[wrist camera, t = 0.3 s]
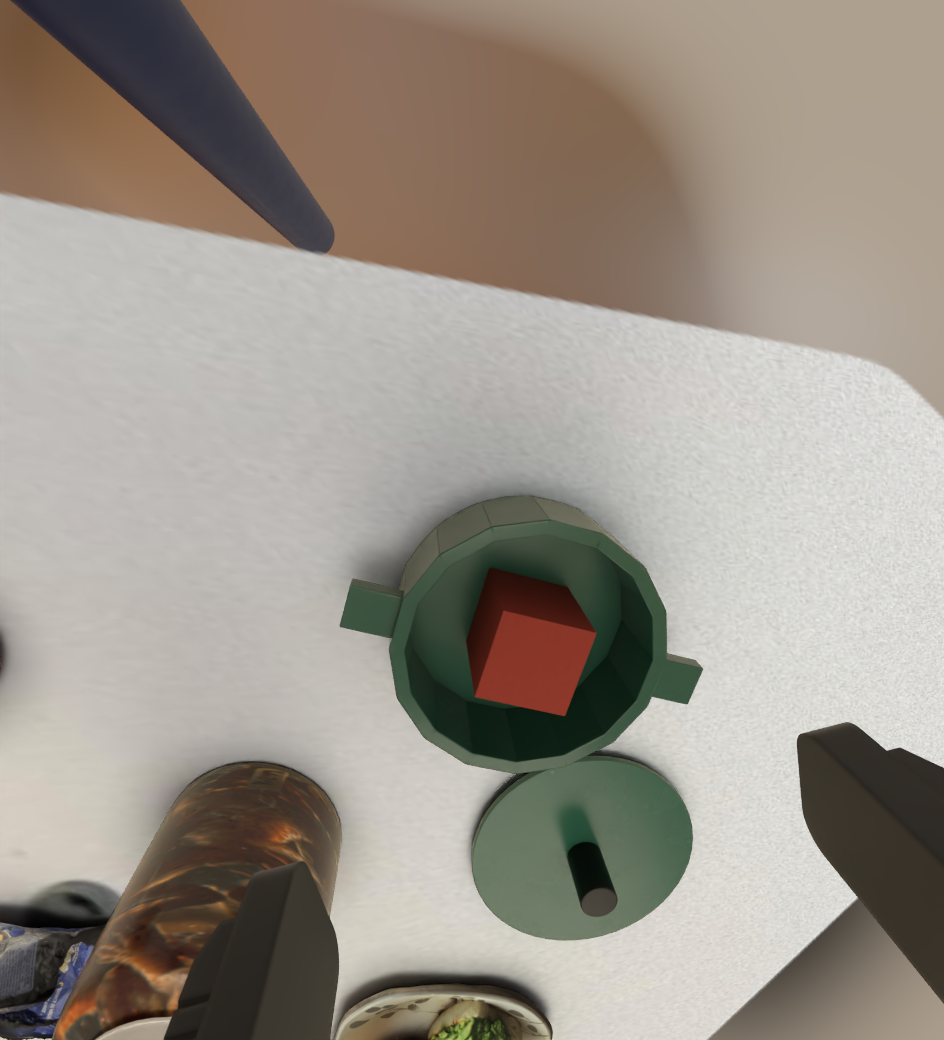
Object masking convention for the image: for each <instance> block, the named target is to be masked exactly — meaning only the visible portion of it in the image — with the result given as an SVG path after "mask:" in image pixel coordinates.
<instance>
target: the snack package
mask: <svg viewBox="0 0 944 1040" xmlns="http://www.w3.org/2000/svg"><path fill="white" fill-rule="evenodd" d="M105 926H106V925H100V926H98V927H88V928H77V929H73V928H71V929H64V928H49V927H48V928H45V927H43V928H29V927H22V926H18V925H12V924H7V923H0V1037H2V1038H6V1039H7V1040H23V1039H26V1040H27V1039H33V1038H42V1039H47V1038H52V1036H53V1033H54V1029H55V1027H56V1024H57V1022H58V1019H59V1017H60V1014H61V1012H62V1009H63V1007H64V1005H65V1003H66V1001H67V999H68V997H69V994H70V992H71V990H72V988H73V986H74V984H75V982H76V980H77V978H78V976H79V974H80V972H81V971H82V969H83V967H84V965H85V963H86V961H87V959H88V957H89V955H90V954H91V952H92V950H93V948H94V946H95V944H96V942H97V940H98V939H99V937H100V935H101V933H102V931H103V929H104V927H105Z"/></svg>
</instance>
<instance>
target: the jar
mask: <svg viewBox="0 0 944 1040" xmlns="http://www.w3.org/2000/svg"><path fill="white" fill-rule="evenodd" d="M340 847H341V827H340V822H339V818H338V815H337V812H336V810H335V808H334V806H333V804H332V803H331V801H330V799H329V798H328V797H327V795H326V794H325V793H324V792H323V791H322V790H321V789H320V788H319V787H318V786H317V785H316V784H315V783H313V782H312V781H311V780H309V779H308V778H306V777H305V776H303V775H301V774H299V773H297V772H295V771H293V770H290V769H287V768H285V767H281V766H278V765H273V764H267V763H254V762H253V763H238V764H232V765H228V766H224V767H221V768H218V769H215V770H213V771H210V772H208V773H206V774H204V775H203V776H201V777H199V778H198V779H196V780H195V781H194V782H192V783H191V784H190V785H189V786H188V787H187V788H186V789H185V790H184V791H183V792H182V793H181V794H180V795H179V797H178V798H177V799H176V801H175V802H174V804H173V805H172V807H171V809H170V810H169V812H168V814H167V816H166V817H165V819H164V821H163V823H162V824H161V826H160V828H159V830H158V831H157V833H156V835H155V837H154V839H153V840H152V842H151V844H150V846H149V847H148V849H147V851H146V853H145V855H144V856H143V858H142V860H141V862H140V864H139V865H138V867H137V869H136V871H135V873H134V874H133V876H132V878H131V880H130V882H129V883H128V885H127V887H126V889H125V891H124V893H123V894H122V896H121V898H120V900H119V902H118V904H117V905H116V907H115V909H114V911H113V913H112V915H111V916H110V918H109V920H108V922H107V924H106V926H105V927H104V929H103V931H102V933H101V935H100V937H99V939H98V940H97V942H96V944H95V946H94V948H93V950H92V952H91V954H90V955H89V957H88V959H87V961H86V963H85V965H84V967H83V969H82V971H81V972H80V974H79V976H78V978H77V980H76V982H75V984H74V986H73V988H72V990H71V992H70V994H69V997H68V999H67V1001H66V1003H65V1005H64V1007H63V1009H62V1012H61V1014H60V1017H59V1019H58V1022H57V1024H56V1027H55V1029H54V1033H53V1036H52V1040H164V1036H165V1033H166V1031H167V1028H168V1025H169V1023H170V1020H171V1018H172V1015H173V1012H174V1010H177V1009H178V999H179V997H180V994H181V992H182V989H183V986H184V984H185V981H186V979H187V976H188V973H189V971H190V968H191V966H192V963H193V960H194V959H195V957H196V956H197V954H198V953H199V952H200V950H201V949H202V947H203V946H204V944H205V943H206V942H207V940H208V939H209V937H210V936H211V934H212V933H213V932H214V930H215V929H216V927H217V926H218V924H219V923H220V922H221V921H224V920H228V919H231V918H235V917H237V914H238V911H239V908H240V905H241V902H242V899H243V896H244V893H245V890H246V887H247V885H248V882H249V880H250V878H251V877H252V876H253V874H255V873H257V872H260V871H264V870H268V869H272V868H276V867H280V866H284V865H288V864H291V863H295V862H299V861H304V862H305V863H306V864H307V865H308V867H309V869H310V871H311V873H312V876H313V878H314V881H315V883H316V886H317V888H318V891H319V893H320V896H321V898H322V900H323V903H324V905H325V908H326V910H327V913H328V915H329V918H330V912H331V906H332V900H333V894H334V887H335V881H336V875H337V868H338V862H339V855H340Z"/></svg>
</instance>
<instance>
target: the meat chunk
mask: <svg viewBox="0 0 944 1040" xmlns="http://www.w3.org/2000/svg"><path fill="white" fill-rule="evenodd" d="M596 634H597V632H596V631H595V629H594V628H593V626H592V625H591V623H590V621H589V620H588V618H587V617H586V615H585V613H584V612H583V610H582V609H581V607H580V606H579V604H578V602H577V601H576V599H575V598H574V596H573V595H572V593H571V591H570V590H569V588H568V587H566V586H562V585H558V584H554V583H550V582H546V581H542V580H538V579H534V578H530V577H526V576H522V575H518V574H514V573H510V572H506V571H502V570H498V569H494V568H489V571H488V574H487V577H486V580H485V583H484V586H483V589H482V592H481V596H480V599H479V602H478V605H477V608H476V611H475V614H474V617H473V620H472V624H471V627H470V630H469V633H468V636H467V639H466V644H467V651H468V657H469V663H470V670H471V676H472V683H473V689H474V695H475V697H477V698H482V699H486V700H491V701H496V702H501V703H505V704H510V705H515V706H519V707H524V708H529V709H534V710H538V711H543V712H548V713H552V714H557V715H562V716H565V715H566V712H567V710H568V707H569V704H570V702H571V699H572V697H573V694H574V691H575V689H576V686H577V683H578V681H579V678H580V676H581V673H582V670H583V668H584V665H585V663H586V660H587V657H588V655H589V652H590V650H591V647H592V644H593V642H594V639H595V637H596Z"/></svg>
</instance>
